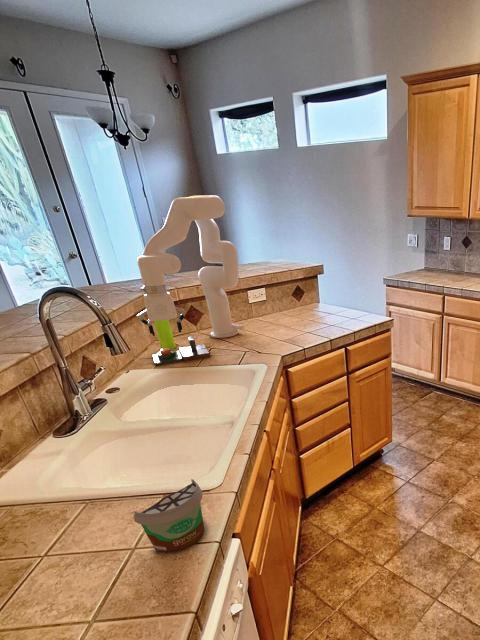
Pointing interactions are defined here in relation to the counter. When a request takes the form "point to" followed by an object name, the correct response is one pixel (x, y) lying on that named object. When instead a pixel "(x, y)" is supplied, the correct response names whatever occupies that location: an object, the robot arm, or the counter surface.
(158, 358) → the button box
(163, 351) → the button
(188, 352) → the panel
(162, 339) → the soap dispenser
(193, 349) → the black block
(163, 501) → the food container
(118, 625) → the counter surface
